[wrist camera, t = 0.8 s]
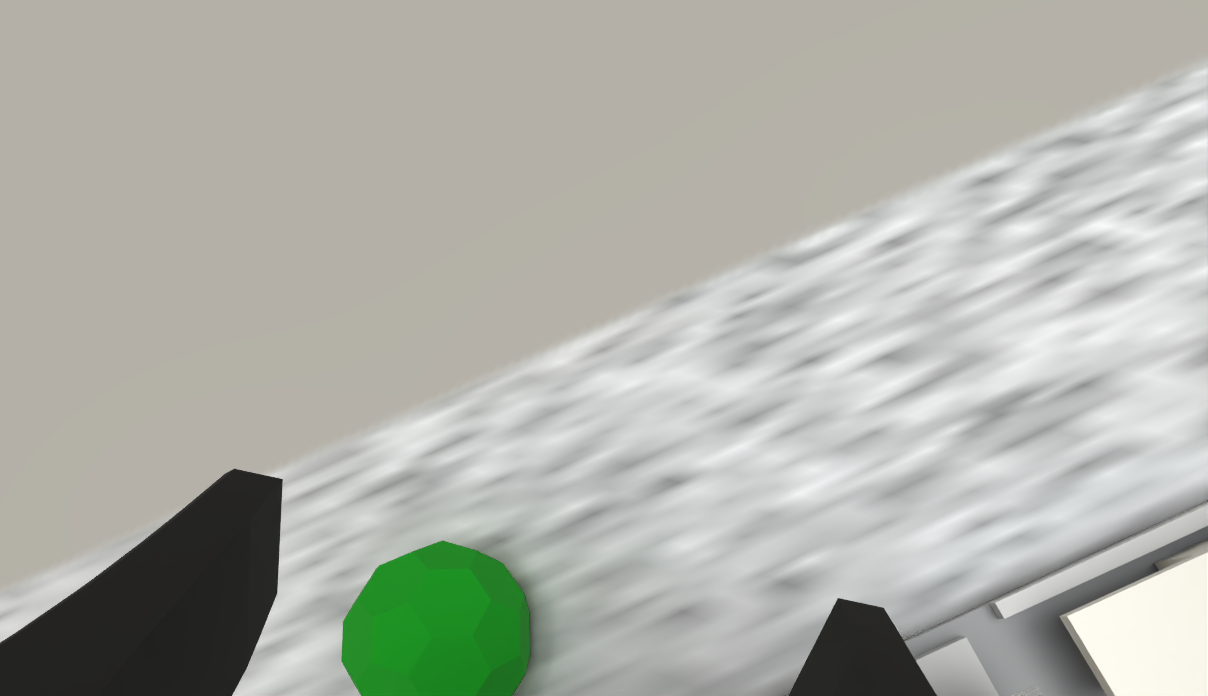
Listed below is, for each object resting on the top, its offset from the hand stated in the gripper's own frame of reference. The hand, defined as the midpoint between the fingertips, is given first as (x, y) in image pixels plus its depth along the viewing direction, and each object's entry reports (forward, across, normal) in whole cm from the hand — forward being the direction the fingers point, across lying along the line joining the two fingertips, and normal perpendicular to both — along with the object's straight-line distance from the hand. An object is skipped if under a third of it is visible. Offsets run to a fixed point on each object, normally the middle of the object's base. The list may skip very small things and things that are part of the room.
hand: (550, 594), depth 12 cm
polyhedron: (+10, +1, +13) cm, 17 cm away
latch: (+8, -15, +5) cm, 17 cm away
